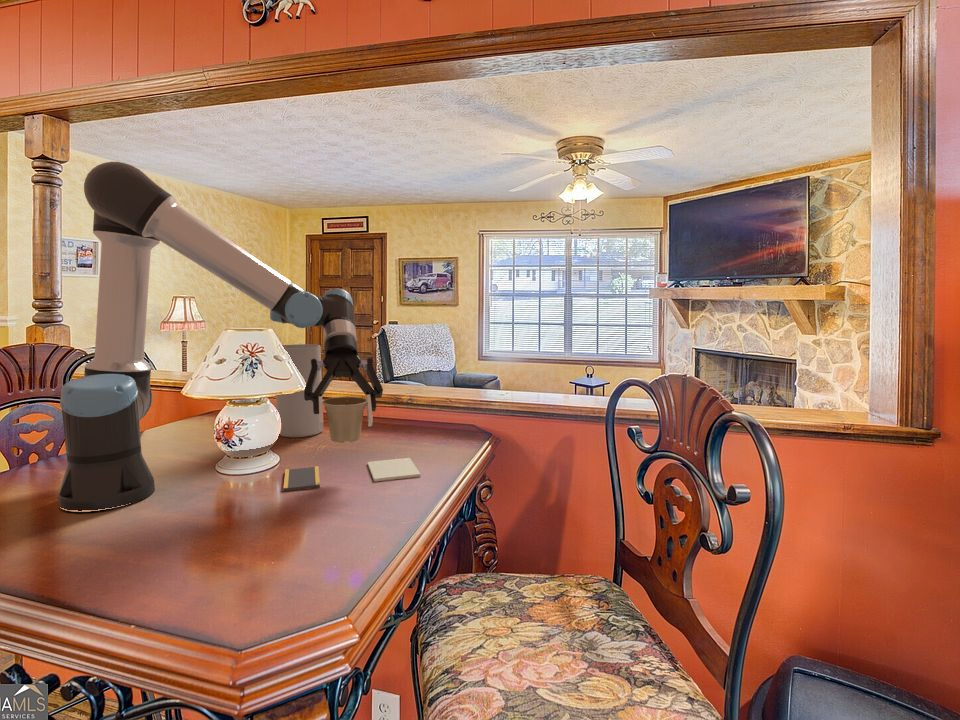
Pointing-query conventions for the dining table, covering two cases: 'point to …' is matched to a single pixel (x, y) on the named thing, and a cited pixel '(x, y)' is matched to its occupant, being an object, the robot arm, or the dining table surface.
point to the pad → (393, 469)
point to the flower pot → (345, 418)
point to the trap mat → (301, 478)
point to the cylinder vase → (300, 395)
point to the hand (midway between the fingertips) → (346, 424)
